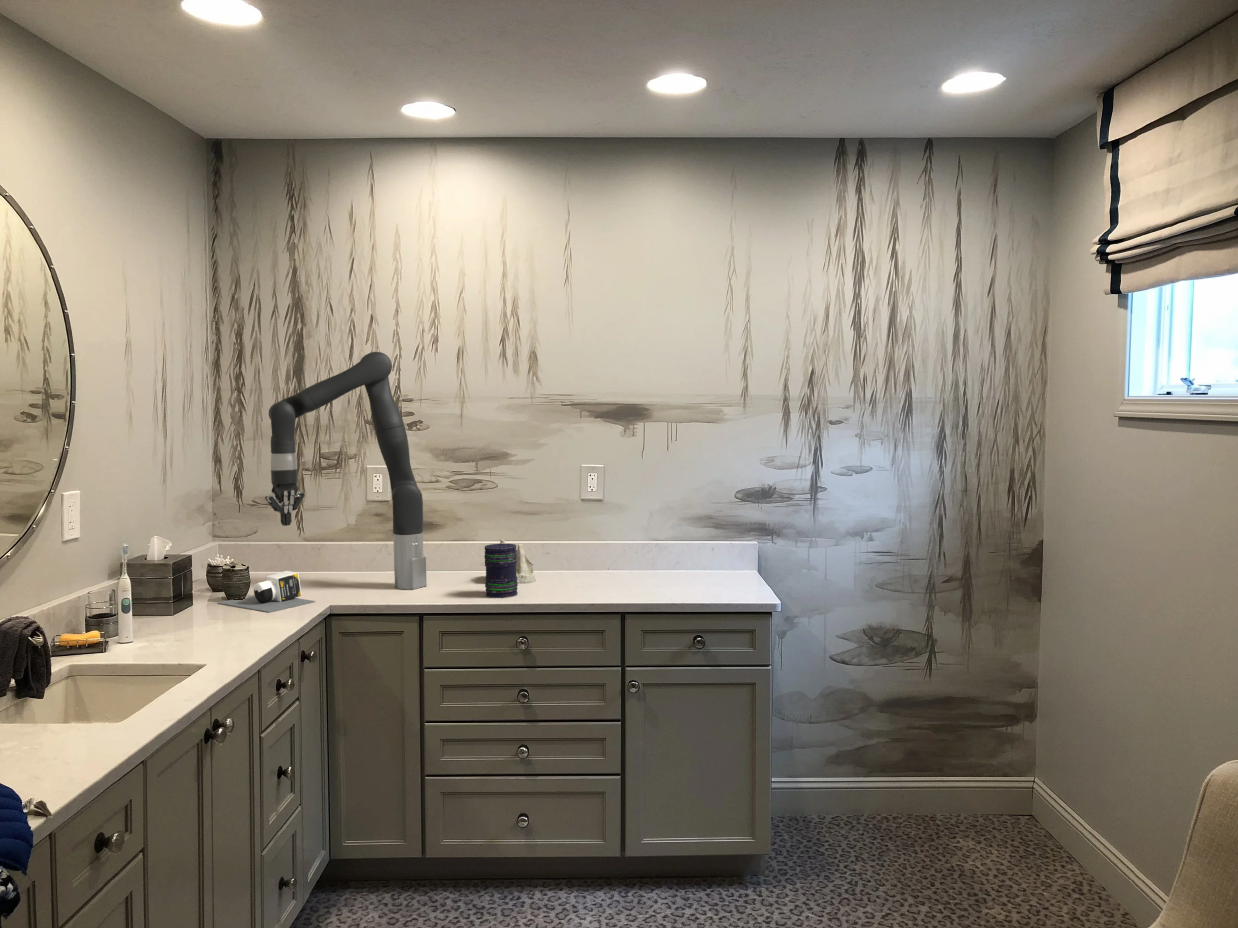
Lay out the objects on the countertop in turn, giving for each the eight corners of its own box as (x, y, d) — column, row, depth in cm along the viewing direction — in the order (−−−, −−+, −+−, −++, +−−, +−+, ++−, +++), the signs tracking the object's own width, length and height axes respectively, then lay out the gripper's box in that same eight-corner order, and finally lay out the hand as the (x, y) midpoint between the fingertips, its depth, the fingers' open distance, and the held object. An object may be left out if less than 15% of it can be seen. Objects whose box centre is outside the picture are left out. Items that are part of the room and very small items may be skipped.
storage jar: (517, 597, 283) (516, 548, 282) (484, 598, 282) (482, 548, 281) (518, 590, 293) (517, 543, 291) (486, 591, 292) (485, 543, 291)
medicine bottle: (302, 595, 285) (265, 607, 276) (290, 592, 290) (253, 603, 281) (298, 572, 284) (261, 583, 275) (286, 570, 288) (249, 580, 280)
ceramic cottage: (538, 582, 305) (535, 536, 304) (487, 588, 300) (484, 541, 300) (530, 577, 320) (527, 533, 319) (481, 582, 315) (478, 537, 315)
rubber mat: (315, 601, 281) (315, 600, 281) (269, 612, 267) (268, 611, 267) (264, 593, 294) (264, 592, 294) (217, 603, 280) (217, 602, 280)
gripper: (273, 470, 277) (275, 528, 278) (310, 467, 288) (312, 523, 289) (257, 469, 281) (259, 527, 282) (294, 466, 292) (296, 522, 293)
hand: (286, 525), depth 286 cm, fingers closed
